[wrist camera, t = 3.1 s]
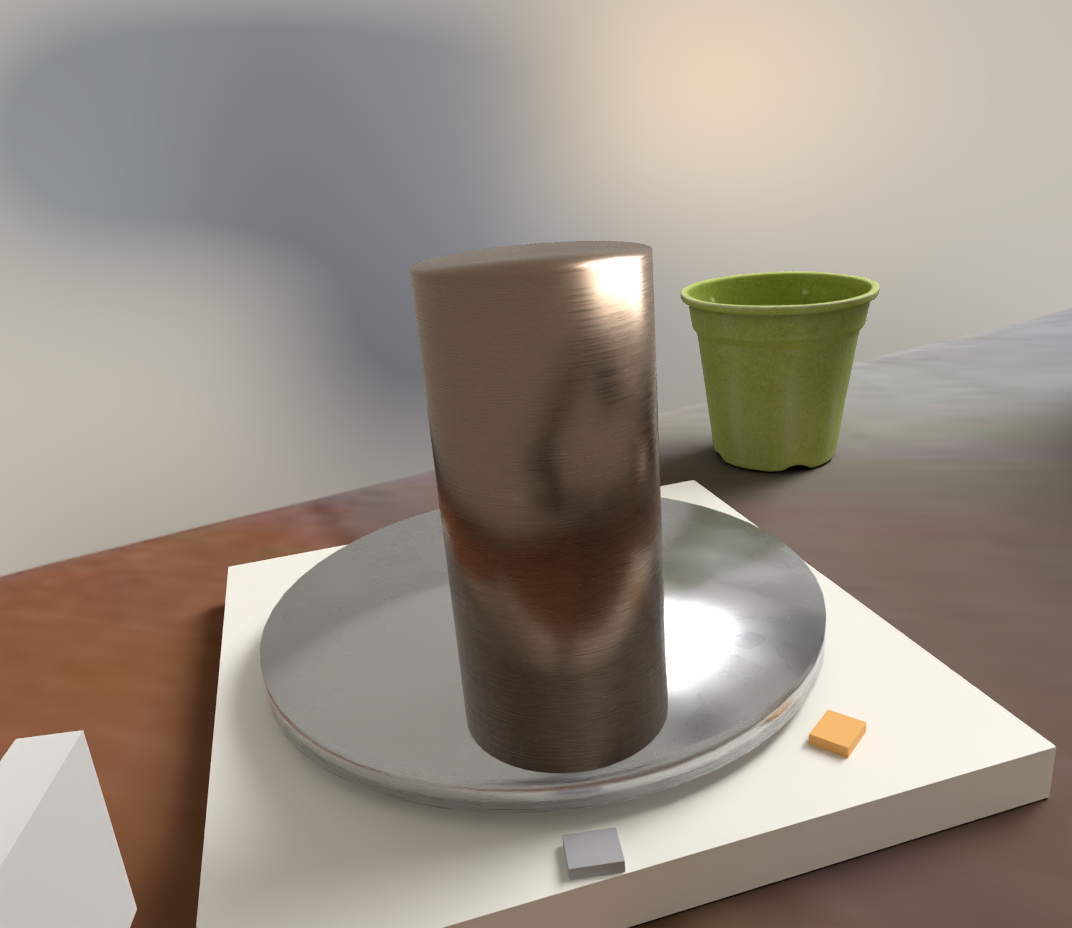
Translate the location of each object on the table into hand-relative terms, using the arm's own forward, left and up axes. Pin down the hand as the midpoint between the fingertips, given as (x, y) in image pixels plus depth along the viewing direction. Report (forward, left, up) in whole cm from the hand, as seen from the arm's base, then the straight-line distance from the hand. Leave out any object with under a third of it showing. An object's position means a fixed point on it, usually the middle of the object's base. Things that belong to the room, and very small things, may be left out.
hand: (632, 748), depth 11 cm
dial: (-3, -15, -7) cm, 17 cm away
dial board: (-3, -15, -9) cm, 18 cm away
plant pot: (-20, -30, -9) cm, 37 cm away
